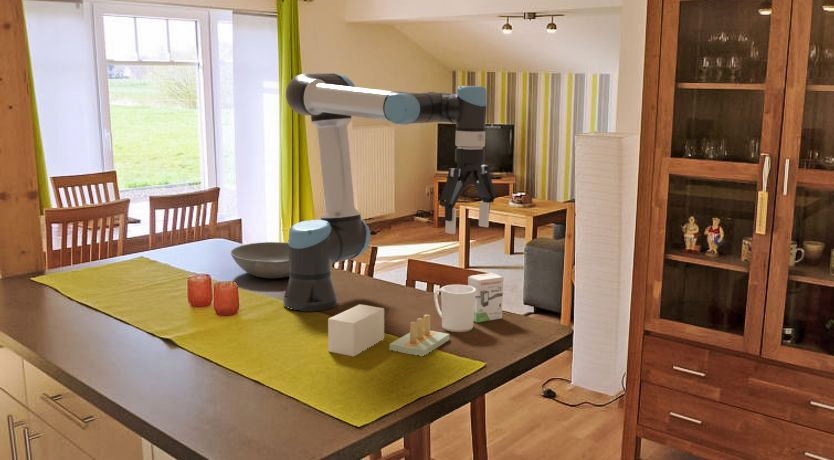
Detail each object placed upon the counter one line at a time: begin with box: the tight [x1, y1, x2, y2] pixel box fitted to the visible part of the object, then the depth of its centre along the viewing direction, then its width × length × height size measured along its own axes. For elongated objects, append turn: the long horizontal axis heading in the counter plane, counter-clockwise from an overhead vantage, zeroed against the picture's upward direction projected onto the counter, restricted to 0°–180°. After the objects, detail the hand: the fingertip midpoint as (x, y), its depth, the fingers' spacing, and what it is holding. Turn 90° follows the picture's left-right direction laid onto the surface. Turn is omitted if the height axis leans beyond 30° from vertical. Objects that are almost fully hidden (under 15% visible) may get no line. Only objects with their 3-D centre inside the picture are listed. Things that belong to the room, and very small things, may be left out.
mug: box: [433, 284, 476, 333], centre depth 204 cm, size 11×9×10 cm
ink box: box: [467, 272, 504, 323], centre depth 212 cm, size 9×5×12 cm, turn 121°
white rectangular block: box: [327, 303, 385, 357], centre depth 189 cm, size 14×7×8 cm, turn 152°
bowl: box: [230, 241, 289, 280], centre depth 255 cm, size 27×28×8 cm
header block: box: [389, 313, 450, 357], centre depth 190 cm, size 9×14×6 cm, turn 152°
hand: (467, 230), depth 203 cm, fingers open, 13 cm apart
